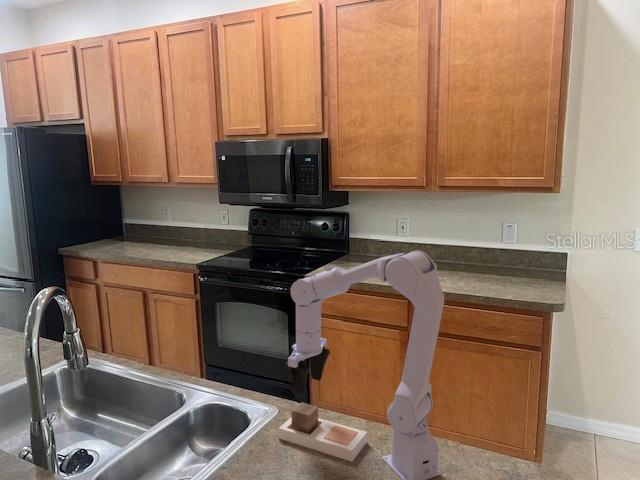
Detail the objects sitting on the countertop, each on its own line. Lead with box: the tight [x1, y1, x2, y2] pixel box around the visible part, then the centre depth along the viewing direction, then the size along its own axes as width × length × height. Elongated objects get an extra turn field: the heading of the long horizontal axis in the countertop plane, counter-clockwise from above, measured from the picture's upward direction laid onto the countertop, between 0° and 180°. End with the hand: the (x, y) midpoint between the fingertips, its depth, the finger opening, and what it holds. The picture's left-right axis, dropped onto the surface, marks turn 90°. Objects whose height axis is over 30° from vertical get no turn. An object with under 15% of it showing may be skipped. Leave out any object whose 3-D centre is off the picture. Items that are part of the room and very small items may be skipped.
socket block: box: [278, 416, 368, 463], centre depth 105 cm, size 18×8×3 cm, turn 62°
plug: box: [291, 402, 319, 435], centre depth 107 cm, size 4×4×6 cm
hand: (308, 385), depth 109 cm, fingers open, 7 cm apart
